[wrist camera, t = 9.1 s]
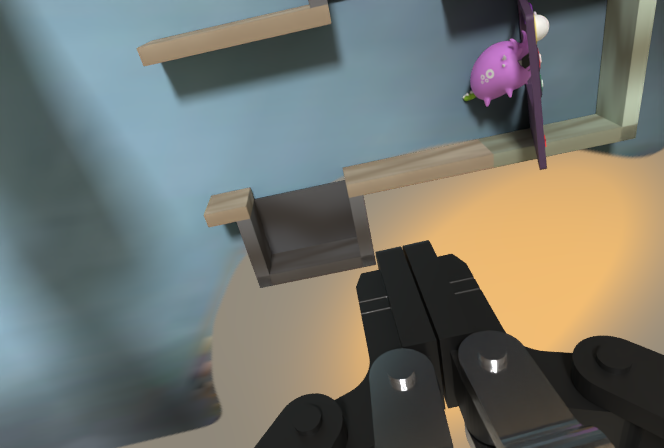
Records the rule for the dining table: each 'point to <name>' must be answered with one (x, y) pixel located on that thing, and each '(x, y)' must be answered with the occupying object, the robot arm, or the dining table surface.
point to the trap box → (347, 196)
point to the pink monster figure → (515, 72)
